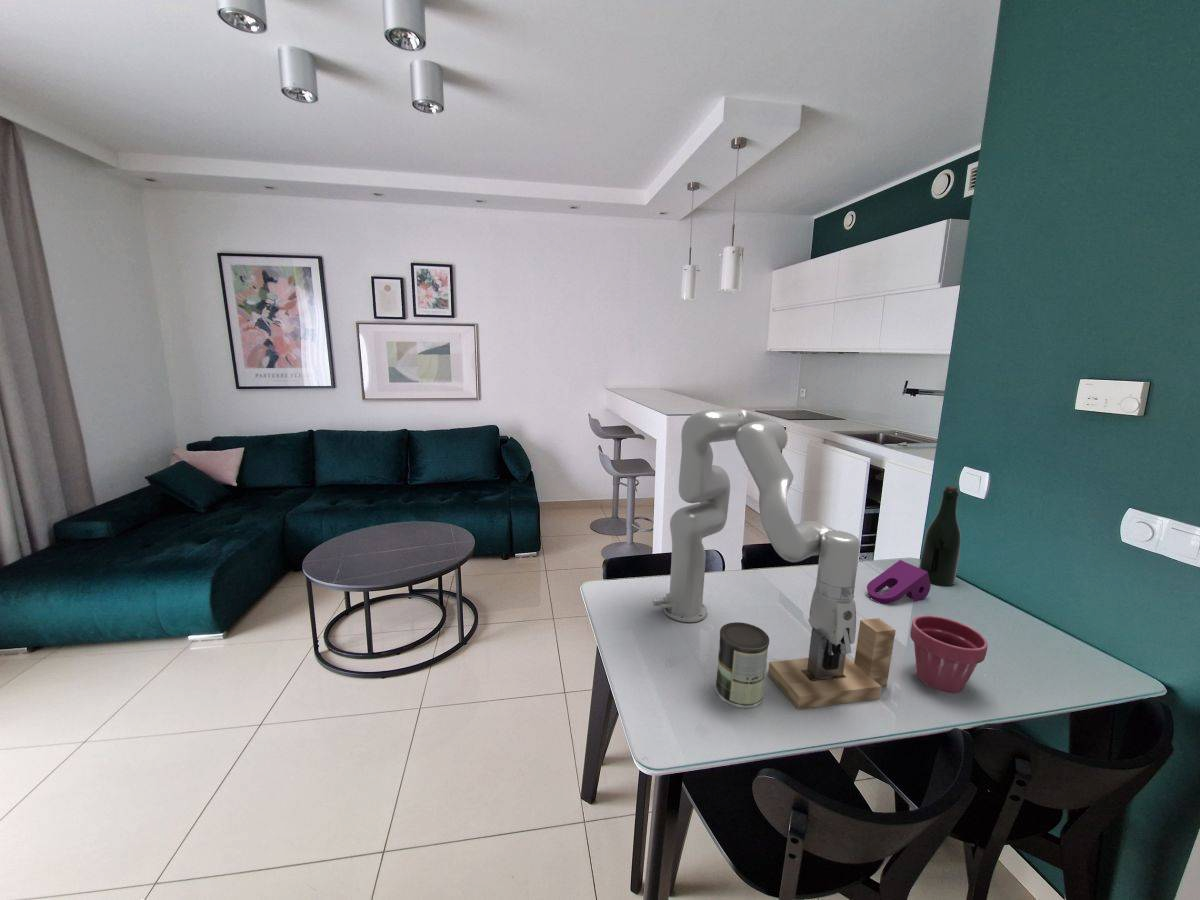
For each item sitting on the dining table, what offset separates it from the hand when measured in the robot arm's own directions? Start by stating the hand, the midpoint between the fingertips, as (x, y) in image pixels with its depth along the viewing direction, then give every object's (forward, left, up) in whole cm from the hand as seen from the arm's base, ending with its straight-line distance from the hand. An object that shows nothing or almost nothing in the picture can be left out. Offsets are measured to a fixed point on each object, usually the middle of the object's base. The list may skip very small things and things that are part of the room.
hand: (825, 663), depth 111 cm
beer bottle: (+75, +43, -6) cm, 87 cm away
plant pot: (+29, -3, -6) cm, 30 cm away
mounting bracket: (+51, +35, -6) cm, 62 cm away
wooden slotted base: (+2, 0, -6) cm, 6 cm away
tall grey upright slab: (0, 0, -2) cm, 2 cm away
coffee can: (-20, +1, -6) cm, 21 cm away
